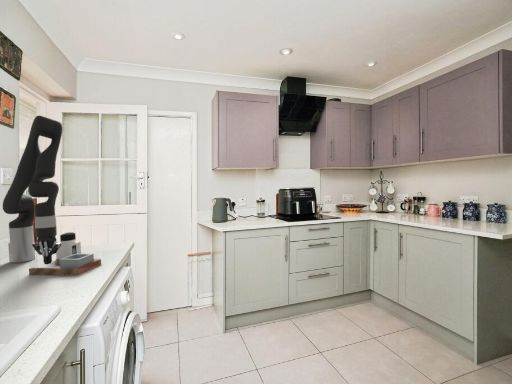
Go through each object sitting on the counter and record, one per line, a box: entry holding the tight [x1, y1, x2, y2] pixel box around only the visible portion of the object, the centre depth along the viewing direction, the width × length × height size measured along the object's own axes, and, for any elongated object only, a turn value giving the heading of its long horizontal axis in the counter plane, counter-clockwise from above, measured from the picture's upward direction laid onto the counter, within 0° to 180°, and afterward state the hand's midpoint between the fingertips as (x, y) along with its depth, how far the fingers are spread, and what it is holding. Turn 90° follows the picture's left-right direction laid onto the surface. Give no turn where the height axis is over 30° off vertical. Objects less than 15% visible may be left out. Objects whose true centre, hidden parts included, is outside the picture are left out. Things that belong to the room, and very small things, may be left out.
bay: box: [28, 258, 102, 276], centre depth 120 cm, size 22×15×2 cm
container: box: [55, 231, 82, 260], centre depth 138 cm, size 8×8×13 cm
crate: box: [59, 253, 95, 268], centre depth 120 cm, size 9×9×6 cm
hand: (47, 263), depth 121 cm, fingers closed
